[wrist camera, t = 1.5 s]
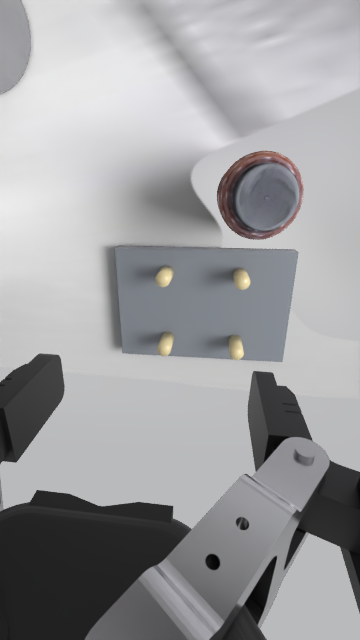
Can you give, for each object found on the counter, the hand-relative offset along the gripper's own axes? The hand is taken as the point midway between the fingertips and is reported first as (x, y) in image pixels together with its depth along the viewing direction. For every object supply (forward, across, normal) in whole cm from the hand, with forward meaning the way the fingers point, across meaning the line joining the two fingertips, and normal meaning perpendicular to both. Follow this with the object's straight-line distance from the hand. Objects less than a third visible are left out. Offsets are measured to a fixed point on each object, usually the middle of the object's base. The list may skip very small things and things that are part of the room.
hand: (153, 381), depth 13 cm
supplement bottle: (+22, -5, -7) cm, 24 cm away
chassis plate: (+22, -2, +4) cm, 22 cm away
